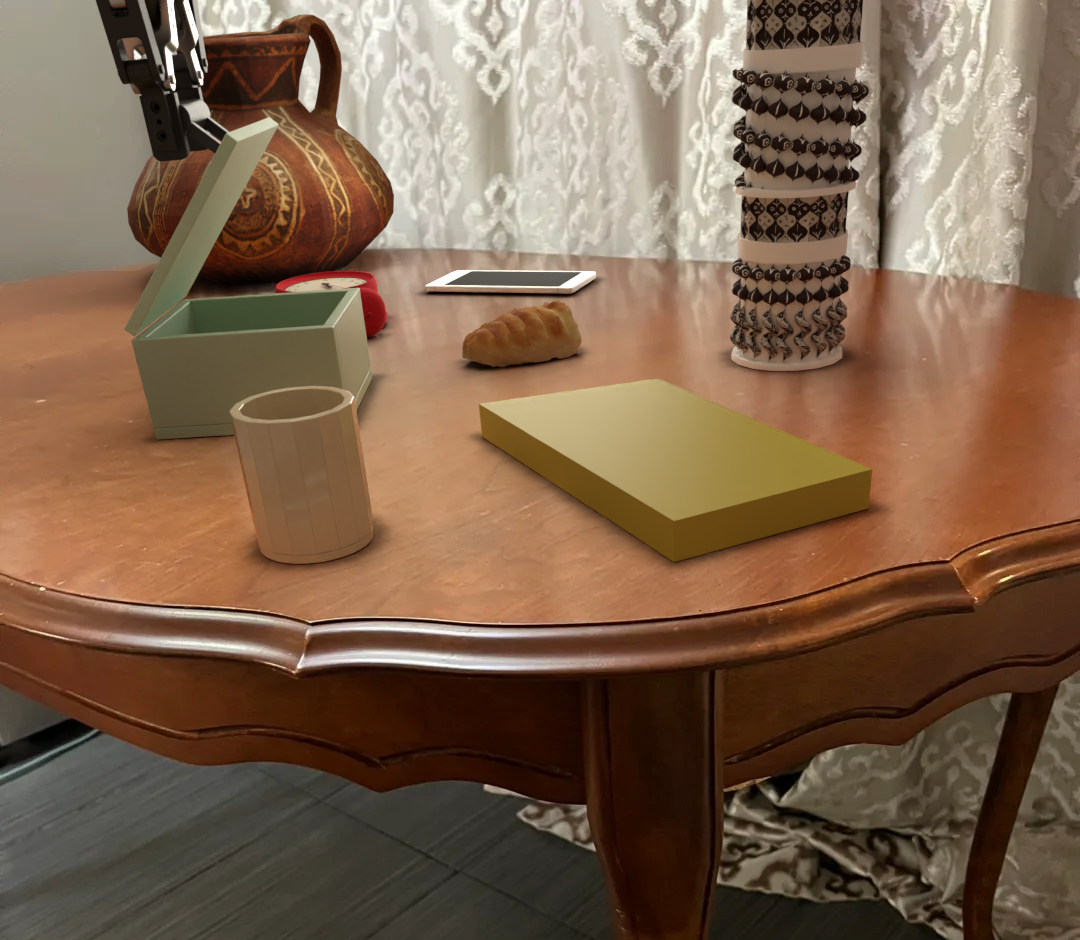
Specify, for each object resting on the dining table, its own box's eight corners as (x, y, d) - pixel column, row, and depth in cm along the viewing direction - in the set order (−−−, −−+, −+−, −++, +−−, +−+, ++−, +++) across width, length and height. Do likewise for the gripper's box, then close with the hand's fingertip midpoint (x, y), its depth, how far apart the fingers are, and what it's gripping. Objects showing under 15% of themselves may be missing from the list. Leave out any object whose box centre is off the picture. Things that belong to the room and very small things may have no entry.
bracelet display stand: (703, 352, 88) (708, -28, 75) (803, 334, 91) (826, -36, 77) (765, 379, 81) (782, -37, 67) (872, 359, 83) (910, -45, 70)
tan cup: (248, 567, 58) (216, 426, 54) (272, 521, 63) (245, 389, 59) (366, 560, 58) (343, 418, 54) (380, 515, 63) (361, 382, 59)
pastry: (486, 376, 86) (481, 325, 84) (448, 360, 91) (443, 311, 89) (589, 353, 90) (587, 304, 88) (547, 339, 95) (544, 292, 93)
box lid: (279, 124, 79) (213, 73, 77) (237, 141, 68) (159, 83, 66) (186, 296, 85) (123, 253, 83) (134, 337, 74) (61, 288, 72)
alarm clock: (376, 267, 108) (386, 255, 94) (386, 335, 110) (397, 333, 96) (267, 279, 106) (261, 268, 92) (280, 348, 108) (275, 347, 94)
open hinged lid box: (372, 377, 88) (359, 287, 84) (348, 428, 77) (333, 326, 74) (202, 388, 88) (182, 299, 85) (156, 439, 78) (130, 340, 74)
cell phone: (456, 276, 120) (455, 269, 120) (597, 277, 115) (597, 271, 114) (424, 292, 114) (423, 285, 114) (571, 294, 109) (571, 287, 108)
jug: (315, 300, 115) (268, 13, 101) (83, 296, 125) (13, 34, 112) (439, 245, 138) (414, 6, 125) (235, 245, 148) (192, 24, 135)
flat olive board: (868, 508, 59) (640, 402, 78) (872, 469, 58) (639, 370, 77) (674, 562, 55) (482, 436, 74) (674, 520, 54) (478, 403, 73)
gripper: (92, -148, 71) (161, 149, 80) (-2, -182, 59) (92, 173, 68) (207, -160, 71) (263, 140, 80) (137, -196, 59) (213, 162, 68)
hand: (184, 153), depth 74 cm, fingers closed on box lid, 5 cm apart
